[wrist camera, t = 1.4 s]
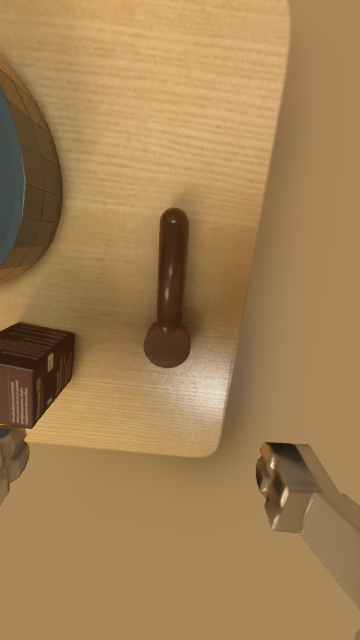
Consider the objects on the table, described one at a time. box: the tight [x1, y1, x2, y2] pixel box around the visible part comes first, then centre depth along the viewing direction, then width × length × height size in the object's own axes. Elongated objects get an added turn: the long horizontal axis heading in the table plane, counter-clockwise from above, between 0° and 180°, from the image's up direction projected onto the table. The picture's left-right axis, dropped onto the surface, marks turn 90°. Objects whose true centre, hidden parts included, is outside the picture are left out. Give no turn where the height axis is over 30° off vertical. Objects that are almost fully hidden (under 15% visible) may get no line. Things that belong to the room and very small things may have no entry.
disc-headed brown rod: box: [144, 208, 191, 368], centre depth 21 cm, size 15×5×2 cm, turn 176°
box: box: [0, 323, 74, 429], centre depth 21 cm, size 6×6×7 cm
